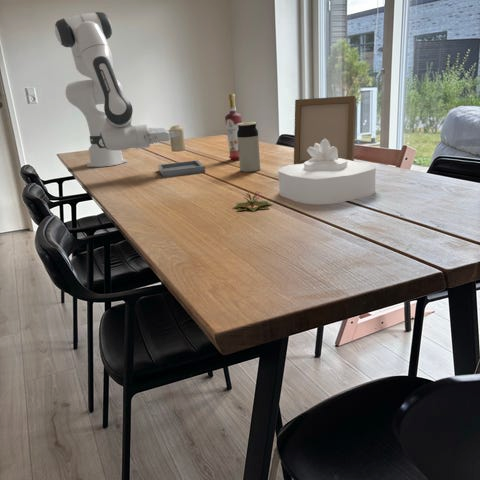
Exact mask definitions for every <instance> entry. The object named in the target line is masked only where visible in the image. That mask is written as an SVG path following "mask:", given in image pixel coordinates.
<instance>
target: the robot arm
mask: <svg viewBox="0 0 480 480" xmlns="http://www.w3.org/2000/svg"><path fill="white" fill-rule="evenodd" d="M54 34H55V36H56V39H57V41H58V42H59V44H60V45H61V46H62V47H64V48H71V53H72V57H73V61H74V65H75V69H76V70H77V72H78V73H79V74H81V75H82V76H85V77H87V78H89V79H85V80H76V81H73V82H70V83H68V84H67V85H66V87H65V90H64V91H65V98H66V99H67V101H68V102H69V103H70V104H71V105H72V106H74V107H76V108H77V109H78V110H79V111H80V112H81V113H82V114H83V116H84V117H85V120H86V122H87V126H88V131H89V141H90V146H89V148H88V155H89V161H90V162H89V163H87V164H86V167H89V168H90V167H91V168H101V167H102V168H103V167H111V166H116V165H121V164H124V163H128V160H127V159H126V158H124V157H123V153H122V151H127V150H128V151H129V150H130V149H138V150H139V149H146V148H151V147H150V146H151V145H153V144H154V143H163V142H169V141H170V138H172V137H176V136H180V132H179V131H176V132H169V129H166V128H165V127H148V125H147V124H140V125H132V120H133V110H134V109H133V105H132V103H131V101H130V100H129V99H128V98H127V97H126V96H125V95H124V87H123V85H122V83H121V82H120V80H118V79H117V78H116V74H115V71H114V66H115V64H114V58H113V53H112V50H111V47H110V45H109V41H108V39H110V38H111V36H112V35H113V27H112V23H111V19H109V16H108V15H107V14H106V13H104V12H100V11H95V12H91V13H90V12H89V13H80V14H77V15H73V16H70V17H67V18H64V17H63V18H61V19H59V20H57V21H56V22H55V24H54ZM97 105H103V106H104V107H103V110H104V111H100V110H99V109H98V108H97ZM170 142H171V141H170Z"/></svg>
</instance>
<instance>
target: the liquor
mask: <svg viewBox="0 0 480 480" xmlns="http://www.w3.org/2000/svg"><path fill="white" fill-rule="evenodd" d="M228 100H229V113H228V114H226V115H225V116H224V118H225V127H226V134H227V142H228V151H229V155H228V156H229V159H230V160H232V161H239V151H238V138H237V132H238V125H237V124H238V123H243V115H242V114H240V113H238V112H237V108H236V95H235V93H231V94H228Z"/></svg>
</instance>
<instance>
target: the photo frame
mask: <svg viewBox="0 0 480 480" xmlns="http://www.w3.org/2000/svg"><path fill="white" fill-rule="evenodd" d="M294 105H295V106H294V139H293V140H294V141H293V144H294V145H293V165H294V164H303V163H304V162H306V161H308V160H310V159H311V158H313V157H312V156H310V154H309V153H308V151H307V149H308V148H309V147H313V148H314V145H315V143H318V144H320V143H321V141H322V140H323V139H324V138H325V139H327V140H328V141H329V143H330V146H331V147H336V148H337V150H338V158H341V159H345V160H351V161H355V142H356V141H355V138H356V114H357V113H356V111H357V110H356V109H357V97H356V96H355V95H347V96H334V97H333V96H332V97H318V98H317V97H314V98H301V99H295V100H294Z"/></svg>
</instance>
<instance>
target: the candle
mask: <svg viewBox="0 0 480 480" xmlns="http://www.w3.org/2000/svg"><path fill="white" fill-rule="evenodd" d="M168 130H169V132H176V131H179V132H180V136H176V137H172V138H170V148H171V152H173V153H174V152H175V153H177V152H184V151H186V145H185V136H184V128H183V127H181V126H180V125H171V127H170V128H169V129H168Z"/></svg>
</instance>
